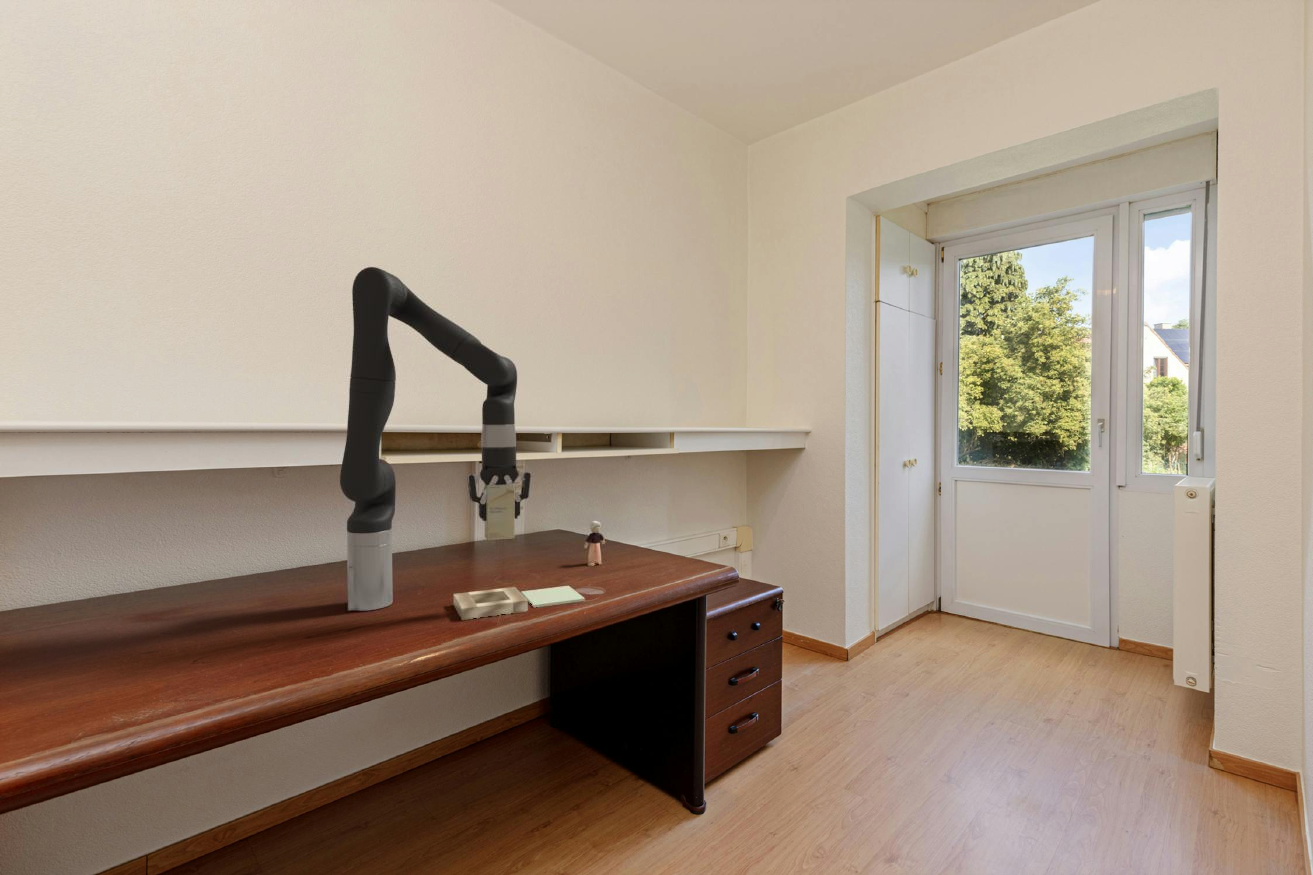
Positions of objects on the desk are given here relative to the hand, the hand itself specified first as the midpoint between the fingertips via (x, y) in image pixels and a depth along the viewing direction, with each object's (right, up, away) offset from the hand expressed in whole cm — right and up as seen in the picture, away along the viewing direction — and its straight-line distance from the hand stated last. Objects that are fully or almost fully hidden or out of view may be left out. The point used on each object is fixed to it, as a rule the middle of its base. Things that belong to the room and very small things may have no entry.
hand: (499, 519), depth 140 cm
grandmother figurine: (+17, -19, +42) cm, 49 cm away
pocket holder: (-2, -20, 0) cm, 20 cm away
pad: (+10, -20, +8) cm, 24 cm away
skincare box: (0, -4, 0) cm, 4 cm away
